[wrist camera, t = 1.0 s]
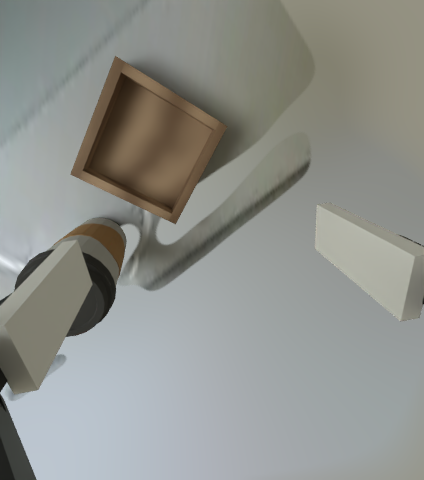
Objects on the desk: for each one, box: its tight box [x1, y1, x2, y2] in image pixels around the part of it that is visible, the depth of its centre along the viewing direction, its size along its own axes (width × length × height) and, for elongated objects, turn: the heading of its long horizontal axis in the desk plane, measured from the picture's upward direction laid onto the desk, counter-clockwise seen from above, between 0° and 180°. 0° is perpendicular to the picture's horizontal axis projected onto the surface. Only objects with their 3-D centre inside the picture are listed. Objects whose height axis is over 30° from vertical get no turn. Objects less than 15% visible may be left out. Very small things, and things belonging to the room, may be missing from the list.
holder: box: [71, 56, 227, 224], centre depth 32 cm, size 13×13×4 cm
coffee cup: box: [14, 218, 126, 337], centre depth 30 cm, size 8×8×15 cm
